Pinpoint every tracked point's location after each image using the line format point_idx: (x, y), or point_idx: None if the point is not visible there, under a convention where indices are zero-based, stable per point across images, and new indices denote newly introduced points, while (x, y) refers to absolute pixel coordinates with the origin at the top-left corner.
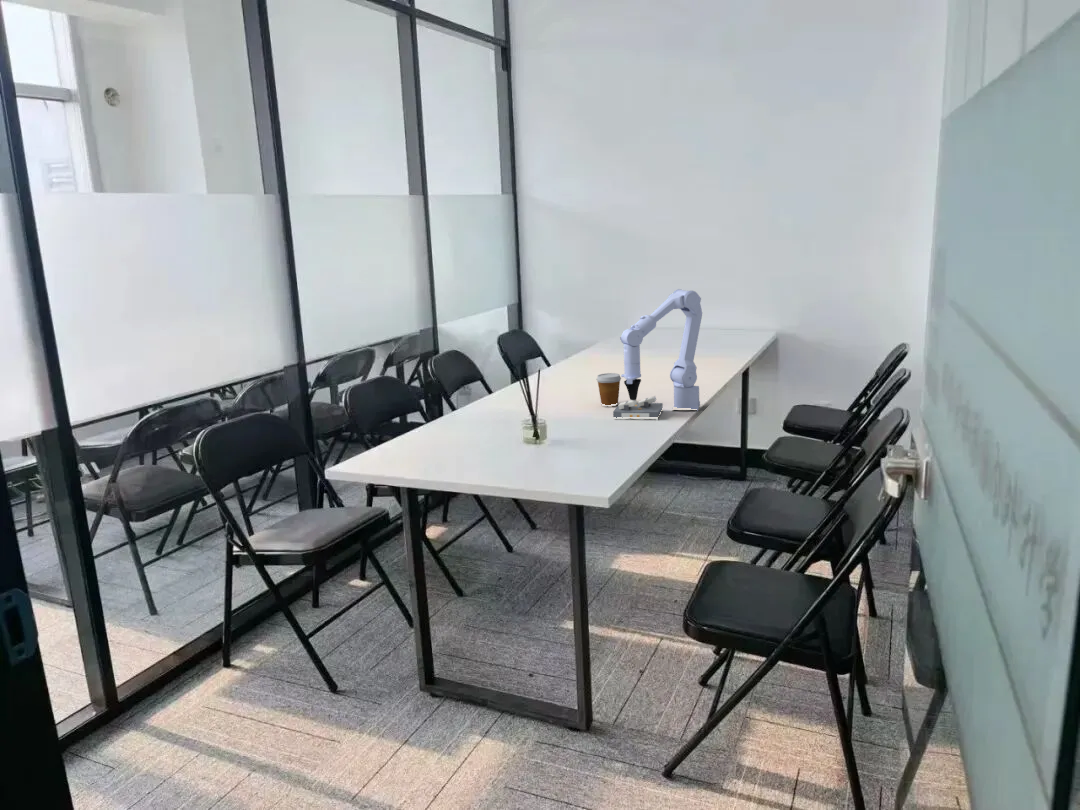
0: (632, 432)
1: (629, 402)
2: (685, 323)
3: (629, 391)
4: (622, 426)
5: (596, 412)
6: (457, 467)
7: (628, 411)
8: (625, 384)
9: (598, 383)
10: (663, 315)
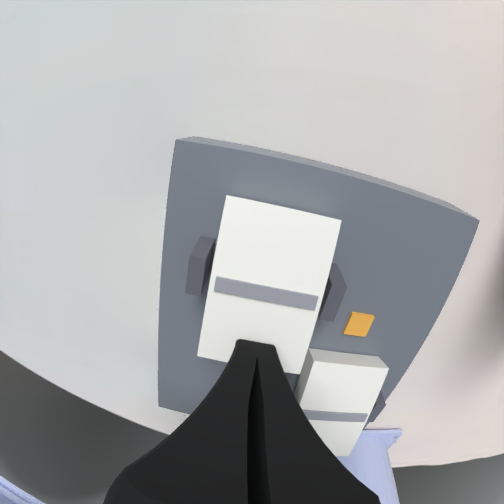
0: None
1: (214, 317)
2: None
3: (216, 407)
4: (47, 203)
5: (433, 41)
6: None
7: (170, 267)
8: (128, 470)
9: None
10: None
